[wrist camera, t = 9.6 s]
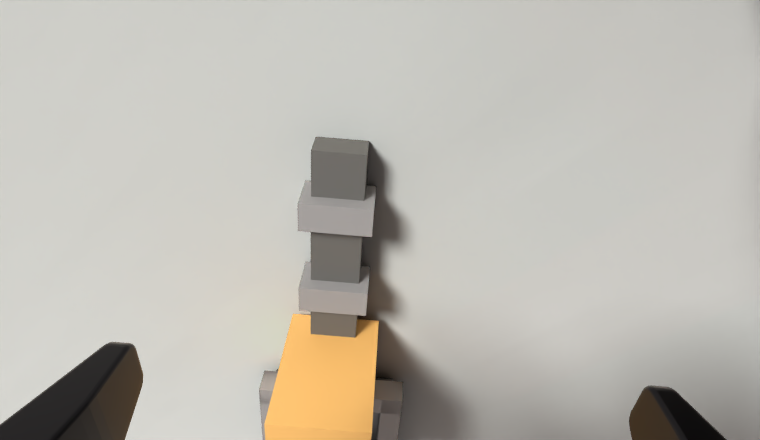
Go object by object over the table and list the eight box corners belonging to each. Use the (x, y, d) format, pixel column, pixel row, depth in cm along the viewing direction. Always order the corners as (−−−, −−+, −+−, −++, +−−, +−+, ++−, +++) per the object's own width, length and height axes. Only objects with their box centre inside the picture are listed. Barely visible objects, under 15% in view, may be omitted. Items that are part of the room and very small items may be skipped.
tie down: (249, 131, 20) (196, 215, 15) (435, 146, 20) (445, 236, 15) (269, 454, 31) (243, 567, 26) (391, 464, 31) (388, 579, 26)
